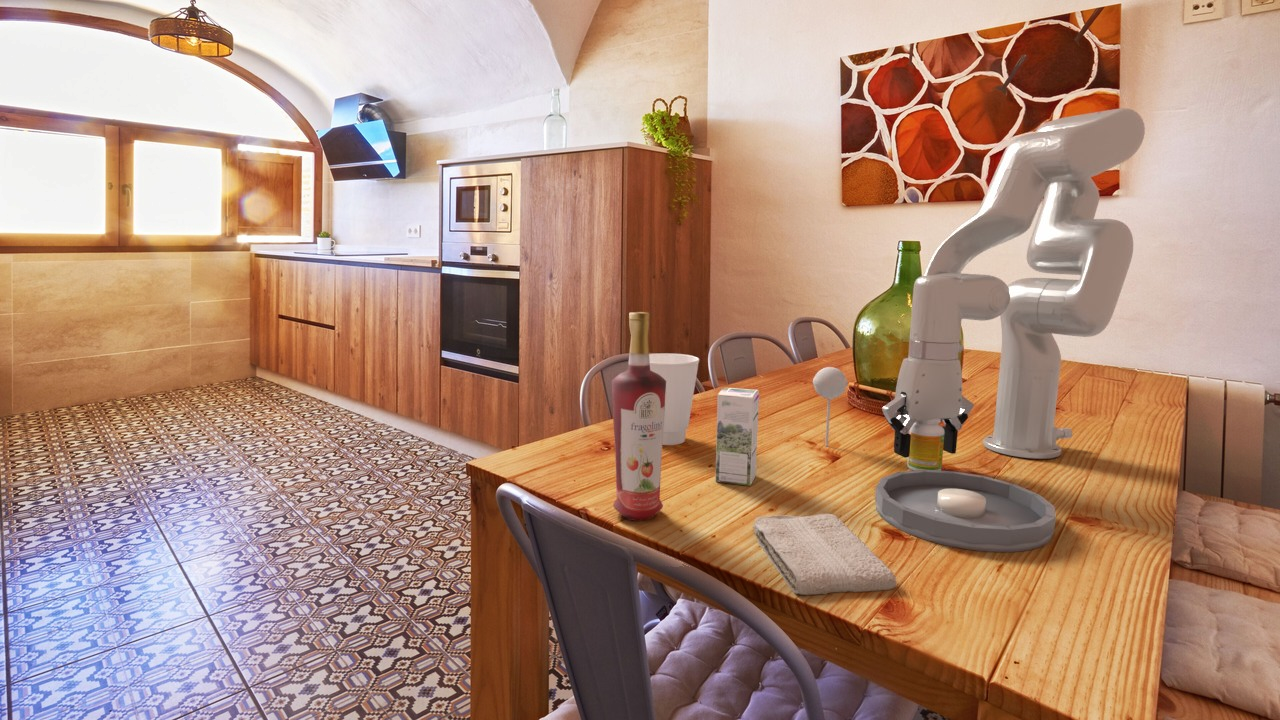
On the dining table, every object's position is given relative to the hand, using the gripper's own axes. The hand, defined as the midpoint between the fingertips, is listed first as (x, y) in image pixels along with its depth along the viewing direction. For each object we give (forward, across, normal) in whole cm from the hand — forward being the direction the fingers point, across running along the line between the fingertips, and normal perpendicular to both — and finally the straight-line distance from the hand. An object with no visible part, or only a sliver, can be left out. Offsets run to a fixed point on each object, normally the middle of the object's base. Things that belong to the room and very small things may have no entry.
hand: (924, 453), depth 113 cm
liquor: (+3, +52, +7) cm, 52 cm away
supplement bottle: (+3, 0, 0) cm, 3 cm away
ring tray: (+3, +9, +19) cm, 21 cm away
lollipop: (+3, +9, -16) cm, 19 cm away
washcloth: (+4, +34, +25) cm, 43 cm away
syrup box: (+3, +33, -3) cm, 33 cm away
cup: (+3, +37, -27) cm, 46 cm away
